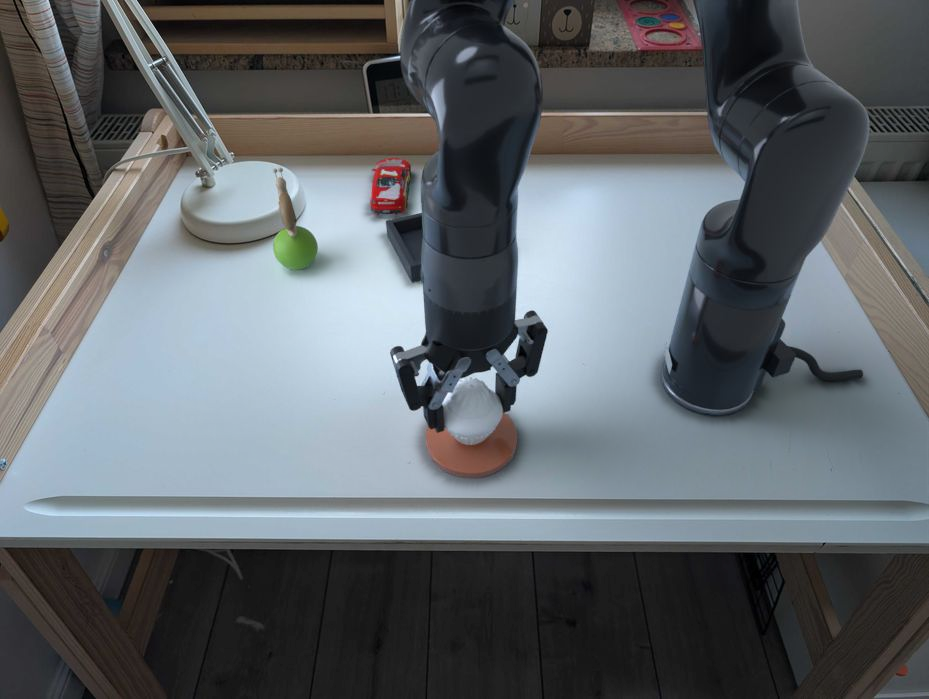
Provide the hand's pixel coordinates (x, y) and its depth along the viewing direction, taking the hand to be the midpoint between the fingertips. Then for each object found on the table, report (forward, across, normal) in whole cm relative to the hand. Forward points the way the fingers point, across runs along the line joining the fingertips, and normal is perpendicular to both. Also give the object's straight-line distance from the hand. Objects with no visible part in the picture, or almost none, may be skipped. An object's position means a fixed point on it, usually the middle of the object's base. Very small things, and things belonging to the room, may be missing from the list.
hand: (470, 415), depth 68 cm
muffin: (+3, 0, 0) cm, 3 cm away
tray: (+4, +8, +31) cm, 32 cm away
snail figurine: (+4, -10, +35) cm, 37 cm away
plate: (+4, 0, 0) cm, 4 cm away
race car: (+4, +6, +46) cm, 47 cm away
